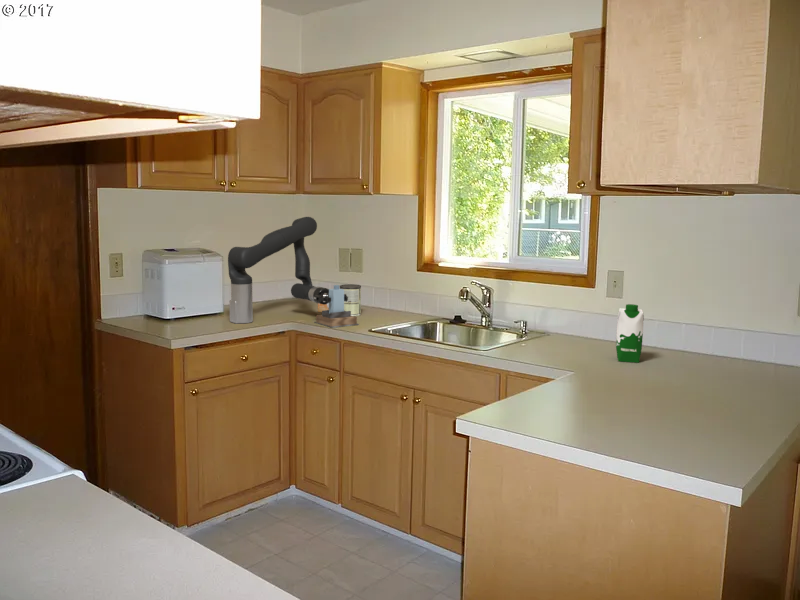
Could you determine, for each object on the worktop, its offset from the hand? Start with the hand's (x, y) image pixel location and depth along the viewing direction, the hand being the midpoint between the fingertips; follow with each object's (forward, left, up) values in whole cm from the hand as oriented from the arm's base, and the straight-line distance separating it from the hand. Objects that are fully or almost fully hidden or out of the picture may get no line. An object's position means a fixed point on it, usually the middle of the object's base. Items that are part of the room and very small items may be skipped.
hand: (338, 299), depth 304 cm
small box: (+14, +33, -11) cm, 38 cm away
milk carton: (+49, -114, -11) cm, 125 cm away
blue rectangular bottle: (0, +2, -8) cm, 8 cm away
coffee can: (+19, +20, -11) cm, 30 cm away
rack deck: (0, +2, -11) cm, 11 cm away
